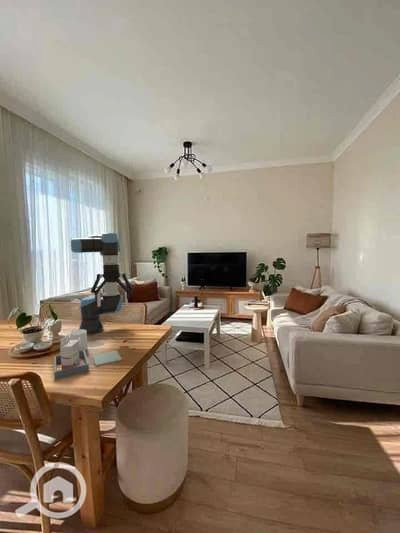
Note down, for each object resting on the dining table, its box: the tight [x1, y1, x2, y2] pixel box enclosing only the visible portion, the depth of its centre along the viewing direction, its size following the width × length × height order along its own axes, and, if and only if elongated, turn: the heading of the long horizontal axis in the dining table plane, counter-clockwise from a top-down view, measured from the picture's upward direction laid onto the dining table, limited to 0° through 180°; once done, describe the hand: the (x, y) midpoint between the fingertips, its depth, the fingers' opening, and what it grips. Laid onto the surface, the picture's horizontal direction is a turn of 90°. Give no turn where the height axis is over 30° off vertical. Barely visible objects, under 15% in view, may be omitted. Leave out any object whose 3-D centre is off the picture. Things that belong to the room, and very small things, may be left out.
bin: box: [53, 350, 90, 381], centre depth 117 cm, size 18×13×4 cm
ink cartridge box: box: [59, 333, 81, 370], centre depth 116 cm, size 9×5×15 cm, turn 5°
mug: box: [69, 329, 88, 351], centre depth 135 cm, size 12×8×10 cm
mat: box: [91, 350, 123, 368], centre depth 125 cm, size 12×12×1 cm
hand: (113, 305), depth 126 cm, fingers open, 13 cm apart
